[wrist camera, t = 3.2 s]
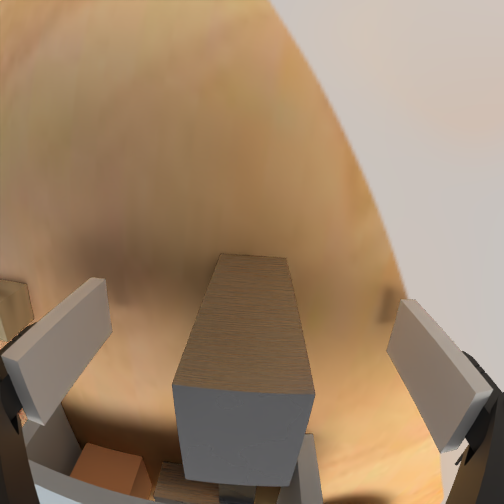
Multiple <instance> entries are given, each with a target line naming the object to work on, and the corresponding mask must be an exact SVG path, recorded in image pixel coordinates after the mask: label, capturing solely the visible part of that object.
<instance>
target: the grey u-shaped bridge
mask: <svg viewBox="0 0 504 504" xmlns="http://www.w3.org/2000/svg"><path fill="white" fill-rule="evenodd" d="M22 431H23V437H24V442H25V447H26V452H27V457H28V461H29V465H30V469H31V473H32V477H33V481H34V485H35V488H36V492H37V495H38V498H39V502H40V504H165V503H160V502H155V501H151V500H146V499H142V498H138V497H134V496H130V495H126V494H122V493H118V492H115V491H111V490H108V489H104V488H101V487H98V486H95V485H92V484H89V483H86V482H83V481H80V480H77V479H75V478H72V477H69V476H70V474H71V472H72V470H73V468H74V466H75V464H76V462H77V460H78V458H79V456H80V454H81V453H82V450H81V448H80V446H79V444H78V442H77V440H76V437H75V435H74V433H73V431H72V429H71V426H70V424H69V422H68V419H67V417H66V415H65V412H64V410H63V407H62V405H61V403H60V404H59V405H58V407H57V408H56V410H55V411H54V413H53V414H52V415H51V417H50V418H49V420H48V421H47V423H46V424H45V426H43V425H41V424H38V423H36V422H34V421H31V420H29V419H28V420H27V421H26V423H25V424H24V426H23V427H22ZM276 504H323V498H322V491H321V484H320V477H319V470H318V463H317V456H316V449H315V443H314V436H313V434H305V435H304V439H303V442H302V446H301V449H300V453H299V456H298V460H297V463H296V466H295V469H294V473H293V476H292V479H291V482H290V485H289V486H281V489H280V492H279V496H278V499H277V502H276Z"/></svg>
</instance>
